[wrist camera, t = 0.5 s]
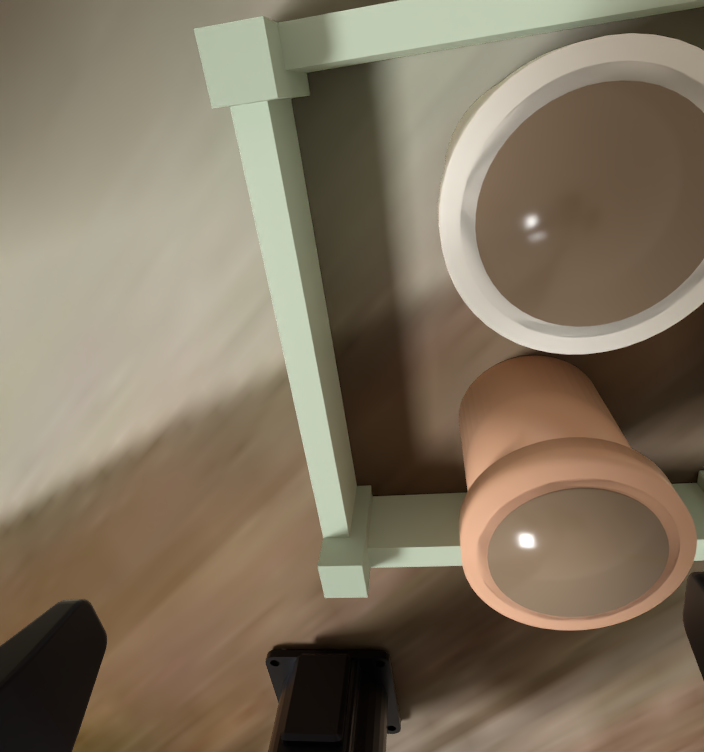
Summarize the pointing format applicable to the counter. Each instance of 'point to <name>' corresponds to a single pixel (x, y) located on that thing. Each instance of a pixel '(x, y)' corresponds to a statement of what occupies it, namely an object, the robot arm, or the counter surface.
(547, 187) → the pot
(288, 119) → the cold frame
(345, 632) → the counter surface
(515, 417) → the terracotta pot
